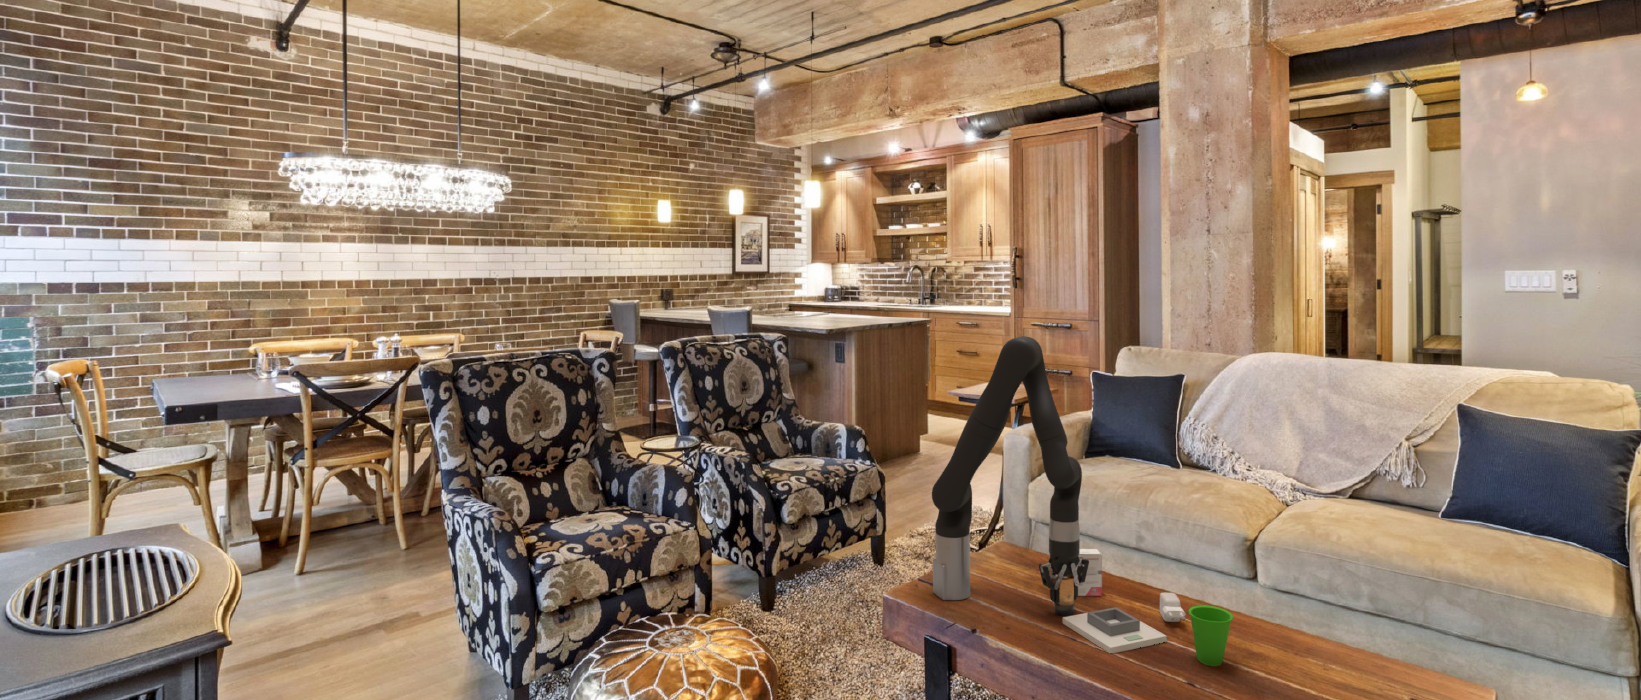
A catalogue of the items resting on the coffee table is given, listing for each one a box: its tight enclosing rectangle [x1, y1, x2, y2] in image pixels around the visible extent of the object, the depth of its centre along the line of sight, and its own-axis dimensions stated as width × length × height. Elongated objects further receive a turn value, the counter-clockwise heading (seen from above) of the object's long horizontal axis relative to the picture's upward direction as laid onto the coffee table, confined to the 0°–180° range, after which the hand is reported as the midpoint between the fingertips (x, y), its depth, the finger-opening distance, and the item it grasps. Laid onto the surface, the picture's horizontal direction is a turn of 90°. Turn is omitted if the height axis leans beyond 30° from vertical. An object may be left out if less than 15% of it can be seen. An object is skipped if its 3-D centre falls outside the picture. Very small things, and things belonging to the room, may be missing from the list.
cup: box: [1188, 604, 1234, 667], centre depth 184 cm, size 9×9×11 cm
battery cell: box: [1053, 574, 1075, 618], centre depth 212 cm, size 5×5×10 cm
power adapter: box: [1159, 592, 1187, 623], centre depth 205 cm, size 11×5×6 cm, turn 171°
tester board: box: [1062, 606, 1168, 654], centre depth 200 cm, size 16×18×4 cm
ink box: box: [1076, 548, 1103, 597], centre depth 224 cm, size 9×5×12 cm, turn 84°
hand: (1063, 600), depth 212 cm, fingers closed on battery cell, 4 cm apart
